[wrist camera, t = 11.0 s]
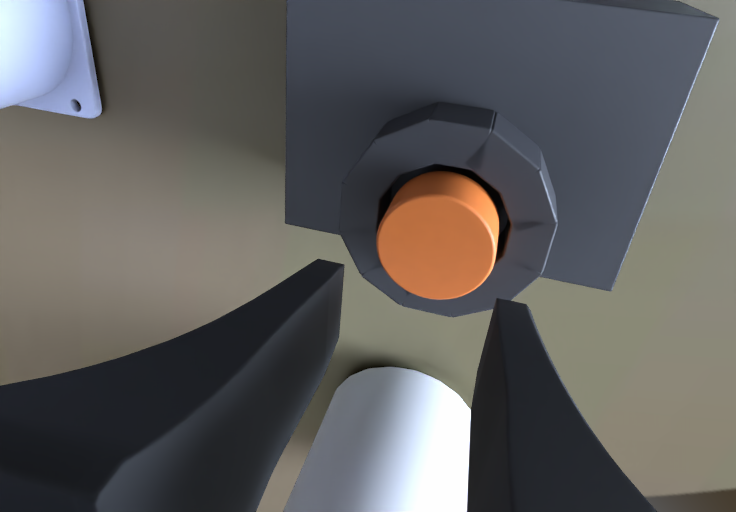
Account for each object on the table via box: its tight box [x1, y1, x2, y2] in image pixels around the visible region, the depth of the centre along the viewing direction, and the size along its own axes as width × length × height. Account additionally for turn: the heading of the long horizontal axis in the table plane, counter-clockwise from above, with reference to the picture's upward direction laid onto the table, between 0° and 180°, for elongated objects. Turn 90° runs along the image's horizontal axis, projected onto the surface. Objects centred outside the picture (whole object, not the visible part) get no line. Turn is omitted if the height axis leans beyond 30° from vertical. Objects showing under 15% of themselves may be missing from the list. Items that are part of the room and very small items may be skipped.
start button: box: [376, 171, 499, 300], centre depth 15 cm, size 3×3×2 cm
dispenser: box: [285, 0, 719, 317], centre depth 17 cm, size 11×9×6 cm
